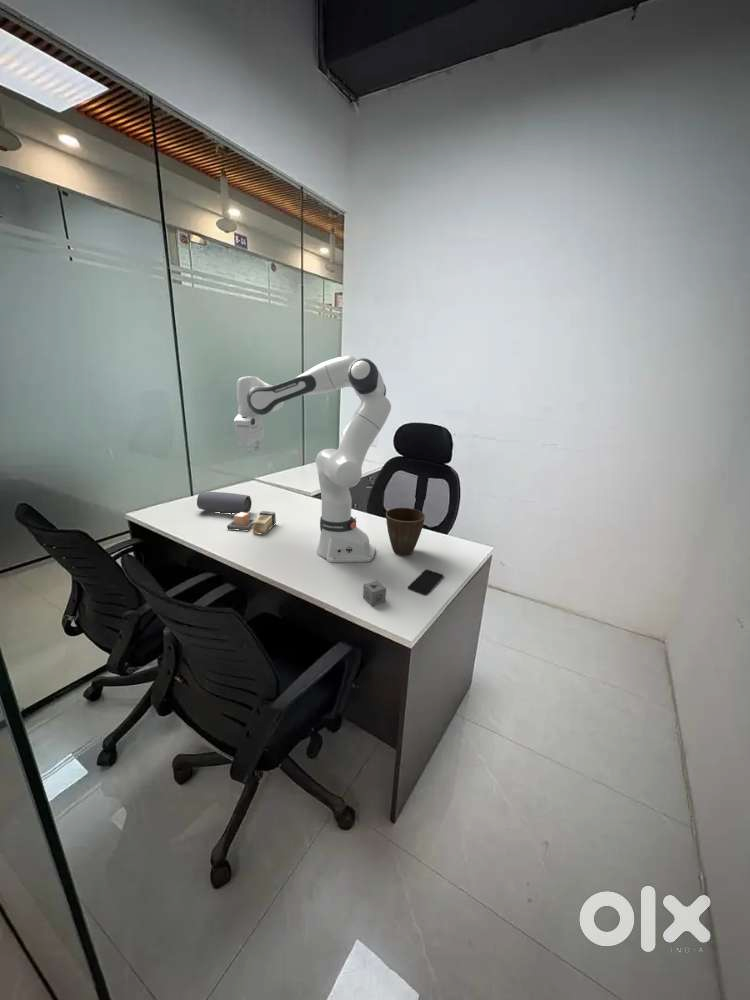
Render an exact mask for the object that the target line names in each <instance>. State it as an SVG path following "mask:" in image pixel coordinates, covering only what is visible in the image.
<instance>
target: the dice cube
mask: <svg viewBox="0 0 750 1000" xmlns="http://www.w3.org/2000/svg"><path fill="white" fill-rule="evenodd" d="M362 589H363V591H362V593H363V594H362V599H363V600H364V601H365V602H366V603H367V604H368V605H369V606H370V607H374V606H378V605H381V604H384V603H386V597H387V596H386V595H387V587H386V586H384V585H383V584H382V583H381V582H380V581H379V580H373V581H371V582H366V583H363V588H362Z"/></svg>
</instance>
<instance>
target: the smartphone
mask: <svg viewBox="0 0 750 1000" xmlns="http://www.w3.org/2000/svg"><path fill="white" fill-rule="evenodd" d="M444 577H445V575H444V574H443V573H440V572H437V571H434V570H431V569H424V570H423V571H422V572H421V573H420V574H419V575H418V576H417V577H416V578H415V579H414V580H413V581H412V582H411V583H410V584H409V585H408V586H407V590H409V591H410V592H411V591H412V592H414V593H416V594H418V595H422V596H424V597H427V596H429V594H431V592H432V591H433V590H434V589H435V588H436V587H437V586H438V585H439V583H441V582H442V580H443V579H444Z"/></svg>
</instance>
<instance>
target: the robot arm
mask: <svg viewBox="0 0 750 1000" xmlns="http://www.w3.org/2000/svg"><path fill="white" fill-rule="evenodd" d="M346 387H350V388H353V390H354V393H355V394H356V395H357V396H358V398H359V399H360V400H361V401H360V404H359V406H358V408H357V409H356V410H355V411H354V413H353V415H352V417H351V418H350V419H349V421H348V422H347V424H346V426H345V427H344V429H343V431H342V432H341V433H342V434H341V440H340V442H339V446H338V448H337V449H336V448H324V449H322V450H320V451H319V452H318V453H317V455H316V457H315V465H316V469H317V474H318V483H319V489H320V494H321V495H320V496H321V516H320V518H319V530H320V535H319V543H318V544H317V545H318V546H317V549H316V552H317V554H318V555H319V556H320V557H322V558H324V559H326V561H328V562H329V563H366V562H367V563H368V562H370V561H372V560H373V559H374V558H375V555H376V548H375V546H374V545H373V544H372V543H370V539H369V536H368V534H367V533H366V532H364V531H363V530H362V529H361V528H359V527H358V526H357V520H356V519H357V517H353V516H352V495H351V493H350V488H353V487H355V486H356V485H358V484H359V482H360V481H361V478H362V472H363V471H362V467H363V465H364V464H363V463H364V460H365V457H366V455H367V453H368V451H369V449H370V448H371V446H372V444H373V443H374V441H375V439H376V438H377V436H378V435H379V433H380V432H381V430H382V428H383V427H384V425H385V423H386V421H387V419H388V417H389V415H390V413H391V411H392V403H391V401H390V400H389V398H388V397H386V396H387V387H386V384H385V382H384V379H383V376H382V374H381V372H380V371H379V369H378V367H377V365H376V364H375V363H374V362H373V361H372V360H370V359H368V358H364V357H363V358H360V357H359V358H358V359H356V358H355V357H354V356H352V355H342V356H338V357H335V358H330V359H328V360H325V361H323V362H321V363H318V364H317V365H315V366H313V367H311V368H309V369H308V370H306V371H304V372H303V373H301V374H300V375H298V376H296V377H294V378H292V379H288V380H286V381H284V382H283V381H282V382H280V383H277V384H275V385H272V384H269V383H267V382H265V381H263V380H262V379H260V378H259V376H257V375H247V376H242V377H240V378H238V380H237V383H236V398H237V402H238V409H237V411H238V414H237V415H236V417H235V418H234V420H233V423H234V424H233V425H234V426H235V437H236V443H237V444H238V446H242V447H243V450H244V454H245V456H251V455H252V452H251V449H250V445H252V444H253V443H254V446H253V450H254V451H255V452H258V451H260V445H261V440H262V439H264V438H265V429H264V427H265V426H264V422H263V417H262V416H263V415H266V414H269V413H273V412H276V411H277V412H278V411H279V410H280V409H282V408H283V407H284V406H285V404H286V402H287V401H289V400H292V399H295V398H297V397H301V396H308V395H309V396H311V395H324V394H329V393H332V392H335V391H339V390H341V389H343V388H346Z"/></svg>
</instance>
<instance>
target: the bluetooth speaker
mask: <svg viewBox="0 0 750 1000" xmlns="http://www.w3.org/2000/svg"><path fill="white" fill-rule="evenodd" d="M196 507H197V508H198V509H199V510H203V511H209V512H213V513H214V512H220V513H231V514H232V513H236V514H238V513H240V512H244V513H249V512H250V511H251V509H252V498H251V496H250V495H248V494H247V495H246V494H242V493H240V494H239V493H234V492H233V493H232V492H223V491H222V492H221V491H200V492H199V493H198V495H197V497H196Z"/></svg>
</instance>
